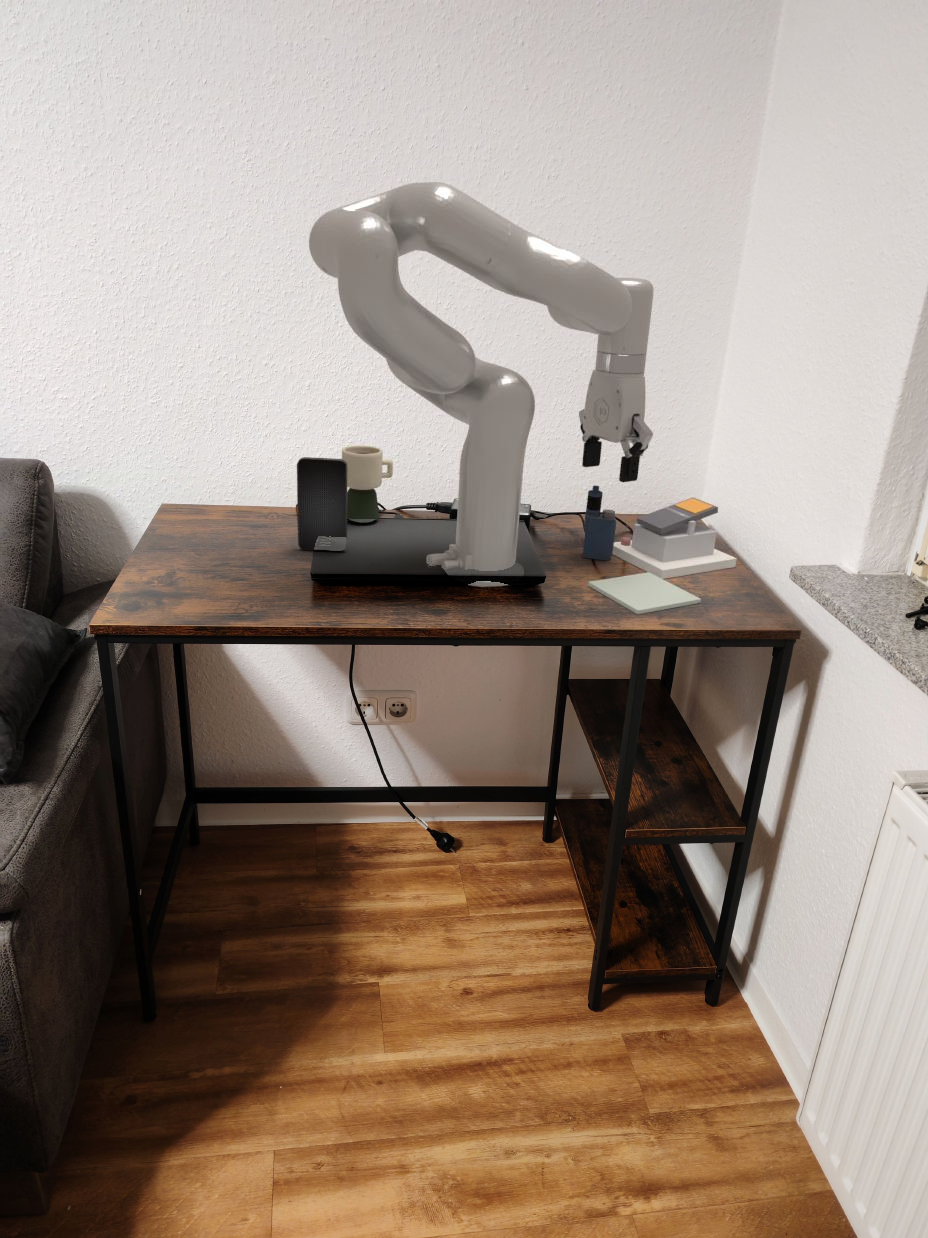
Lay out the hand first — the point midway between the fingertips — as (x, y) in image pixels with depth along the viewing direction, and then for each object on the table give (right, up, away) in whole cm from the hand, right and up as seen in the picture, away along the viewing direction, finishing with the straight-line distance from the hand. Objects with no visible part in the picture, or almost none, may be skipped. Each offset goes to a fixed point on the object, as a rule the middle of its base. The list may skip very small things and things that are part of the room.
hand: (608, 473), depth 145 cm
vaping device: (-1, -13, +6) cm, 15 cm away
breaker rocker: (+12, -6, +4) cm, 14 cm away
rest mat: (+4, -20, -9) cm, 22 cm away
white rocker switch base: (+12, -13, +7) cm, 19 cm away
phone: (-46, -12, +1) cm, 48 cm away
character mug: (-42, -6, +17) cm, 45 cm away
